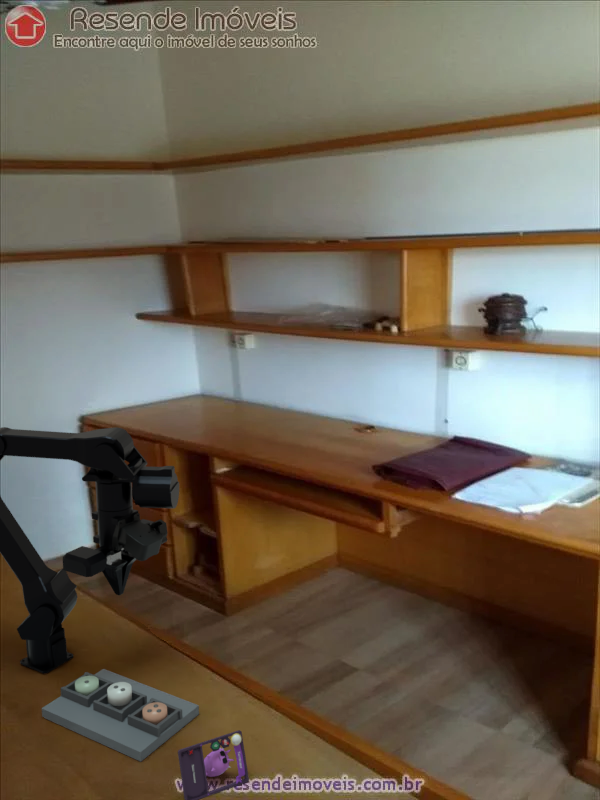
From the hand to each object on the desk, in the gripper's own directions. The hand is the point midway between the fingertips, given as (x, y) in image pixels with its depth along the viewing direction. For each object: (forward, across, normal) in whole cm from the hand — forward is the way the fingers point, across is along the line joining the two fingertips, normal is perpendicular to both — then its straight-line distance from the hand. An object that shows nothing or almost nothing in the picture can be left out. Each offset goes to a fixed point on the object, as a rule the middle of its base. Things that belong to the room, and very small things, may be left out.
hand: (119, 594), depth 132 cm
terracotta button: (+11, -11, -17) cm, 23 cm away
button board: (+13, -11, -10) cm, 20 cm away
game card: (+13, -16, -31) cm, 37 cm away
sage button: (+11, -11, -3) cm, 16 cm away
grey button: (+10, -11, -10) cm, 18 cm away
